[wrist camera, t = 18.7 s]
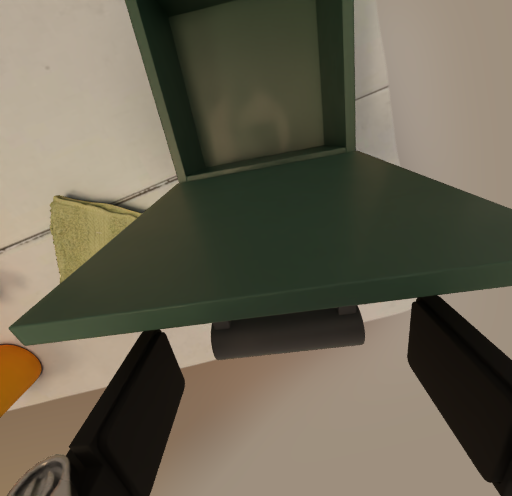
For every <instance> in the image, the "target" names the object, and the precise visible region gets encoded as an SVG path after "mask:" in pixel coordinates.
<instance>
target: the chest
mask: <svg viewBox="0 0 512 496" xmlns="http://www.w3.org/2000/svg"><path fill="white" fill-rule="evenodd" d="M125 2H126V6H127V9H128V12H129V16H130V19H131V22H132V26H133V29H134V33H135V36H136V39H137V43H138V46H139V49H140V53H141V56H142V59H143V63H144V66H145V70H146V73H147V76H148V80H149V83H150V86H151V90H152V93H153V96H154V100H155V103H156V107H157V110H158V113H159V117H160V120H161V123H162V127H163V130H164V133H165V137H166V140H167V144H168V147H169V150H170V154H171V157H172V160H173V164H174V167H175V170H176V174H177V177H178V181H179V183H184V182H189V181H195V180H200V179H206V178H211V177H217V176H222V175H227V174H233V173H238V172H244V171H249V170H255V169H260V168H266V167H271V166H277V165H282V164H288V163H293V162H299V161H304V160H309V159H315V158H320V157H326V156H331V155H337V154H342V153H348V152H353V151H356V143H355V67H354V0H125Z"/></svg>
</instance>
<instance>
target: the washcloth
mask: <svg viewBox="0 0 512 496" xmlns="http://www.w3.org/2000/svg"><path fill="white" fill-rule="evenodd" d="M50 206H51V210H50V211H51V213H52V214H51V217H50V218H51V225H50V230H51V234H52V235H53V240H54V242H53V243H54V245H55V250H56V251H55V252H56V256H57V257H58V258H57V259H56V260H57V262H58V268H59V273H60V275H61V277H60V283H62V282H63V281H64V280H65V279H66V278H67V277H69V276H70V275H71V274H72V273H73V272H74V271H76V270H77V269H78V268H79V267H80V266H82V265H83V264H84V263H85V262H86V261H87V260H89V259H90V258H91V257H92V256H93V255H94V254H96V253H97V252H98V251H99V250H100V249H101V248H103V247H104V246H105V245H106V244H107V243H108V242H110V241H111V240H112V239H113V238H114V237H116V236H117V235H118V234H119V233H120V232H121V231H123V230H124V229H125V228H126V227H127V226H128V225H130V224H131V223H132V222H133V221H134V220H135V219H137V218H138V217H139V216H140V215H141V214H142V213H138V212H134V211H130V210H127V209H124V208H121V207H117V206H114V205H109V204H106V203H92V202H87V201H81V200H76V199H71V198H67V197H64V196H60V195H58V196H57V195H56V196H54V198H53V202H52V203H51V204H50Z"/></svg>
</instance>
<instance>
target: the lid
mask: <svg viewBox="0 0 512 496" xmlns="http://www.w3.org/2000/svg"><path fill="white" fill-rule="evenodd" d="M507 286H512V209H510V208H507V207H504V206H502V205H499V204H497V203H494V202H491V201H489V200H486V199H483V198H480V197H478V196H476V195H473V194H470V193H468V192H465V191H462V190H460V189H457V188H454V187H452V186H449V185H446V184H444V183H441V182H438V181H436V180H433V179H431V178H428V177H425V176H422V175H420V174H418V173H415V172H412V171H409V170H407V169H404V168H402V167H399V166H397V165H394V164H391V163H389V162H386V161H383V160H381V159H378V158H375V157H373V156H370V155H368V154H365V153H362V152H360V151H353V152H348V153H342V154H337V155H331V156H326V157H320V158H315V159H309V160H304V161H299V162H293V163H288V164H282V165H277V166H271V167H266V168H260V169H255V170H249V171H244V172H238V173H233V174H227V175H222V176H217V177H211V178H206V179H200V180H195V181H189V182H184V183H178V184H176V185H175V186H174V187H173V188H172V189H171V190H169V191H168V192H167V193H166V194H165V195H164V196H162V197H161V198H160V199H159V200H158V201H157V202H155V203H154V204H153V205H152V206H151V207H150V208H148V209H147V210H146V211H145V212H144V213H142V214H141V215H140V216H139V217H138V218H137V219H135V220H134V221H133V222H132V223H131V224H130V225H128V226H127V227H126V228H125V229H124V230H123V231H121V232H120V233H119V234H118V235H117V236H116V237H114V238H113V239H112V240H111V241H110V242H108V243H107V244H106V245H105V246H104V247H103V248H101V249H100V250H99V251H98V252H97V253H96V254H94V255H93V256H92V257H91V258H90V259H89V260H87V261H86V262H85V263H84V264H83V265H82V266H80V267H79V268H78V269H77V270H76V271H74V272H73V273H72V274H71V275H70V276H69V277H67V278H66V279H65V280H64V281H63V282H62V283H60V284H59V285H58V286H57V287H56V288H55V289H53V290H52V291H51V292H50V293H49V294H48V295H46V296H45V297H44V298H43V299H42V300H40V301H39V302H38V303H37V304H36V305H35V306H33V307H32V308H31V309H30V310H29V311H28V312H26V313H25V314H24V315H23V316H22V317H21V318H19V319H18V320H17V321H16V322H15V323H14V324H12V325H11V326H10V327H9V330H10V331H11V332H12V333H13V334H14V335H15V336H16V337H17V338H18V340H19V341H20V342H21V343H22V344H23V345H25V346H28V345H36V344H44V343H53V342H61V341H69V340H77V339H85V338H93V337H101V336H109V335H117V334H126V333H134V332H142V331H150V330H158V329H166V328H174V327H182V326H191V325H199V324H207V323H212V327H211V344H212V350H213V353H214V356H215V358H216V359H217V360H225V359H234V358H243V357H251V356H252V357H253V356H262V355H271V354H280V353H290V352H299V351H308V350H317V349H327V348H336V347H345V346H355V345H362V344H364V341H365V330H364V325H363V320H362V316H361V313H360V310H359V308H358V306H357V305H361V304H369V303H377V302H385V301H393V300H401V299H410V298H418V297H426V296H434V295H442V294H449V293H458V292H466V291H474V290H483V289H491V288H498V287H507Z"/></svg>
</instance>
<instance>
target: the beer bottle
mask: <svg viewBox="0 0 512 496" xmlns="http://www.w3.org/2000/svg"><path fill="white" fill-rule="evenodd" d="M40 373H41V364H40V362H39V360H38V359H37V358H36V357H35V356H34V355H33V354H32V353H31V352H29V351H27V350H26V349H24V348H21V347H18V346H14V345H0V417H1V416H2V415H3V414H4V413H5V412H6V411H7V410H8V409H9V408H10V407H11V406H12V405H13V404H14V403H15V402H16V401H17V400H18V399H19V397H20V396H21V395H22V394H23V393H24V392H25V391H26V390H27V389H28V388H29V387H30V386H31V385H32V384H33V383H34V382H35V381H36V380H37V378H38V377H39V375H40Z"/></svg>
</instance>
